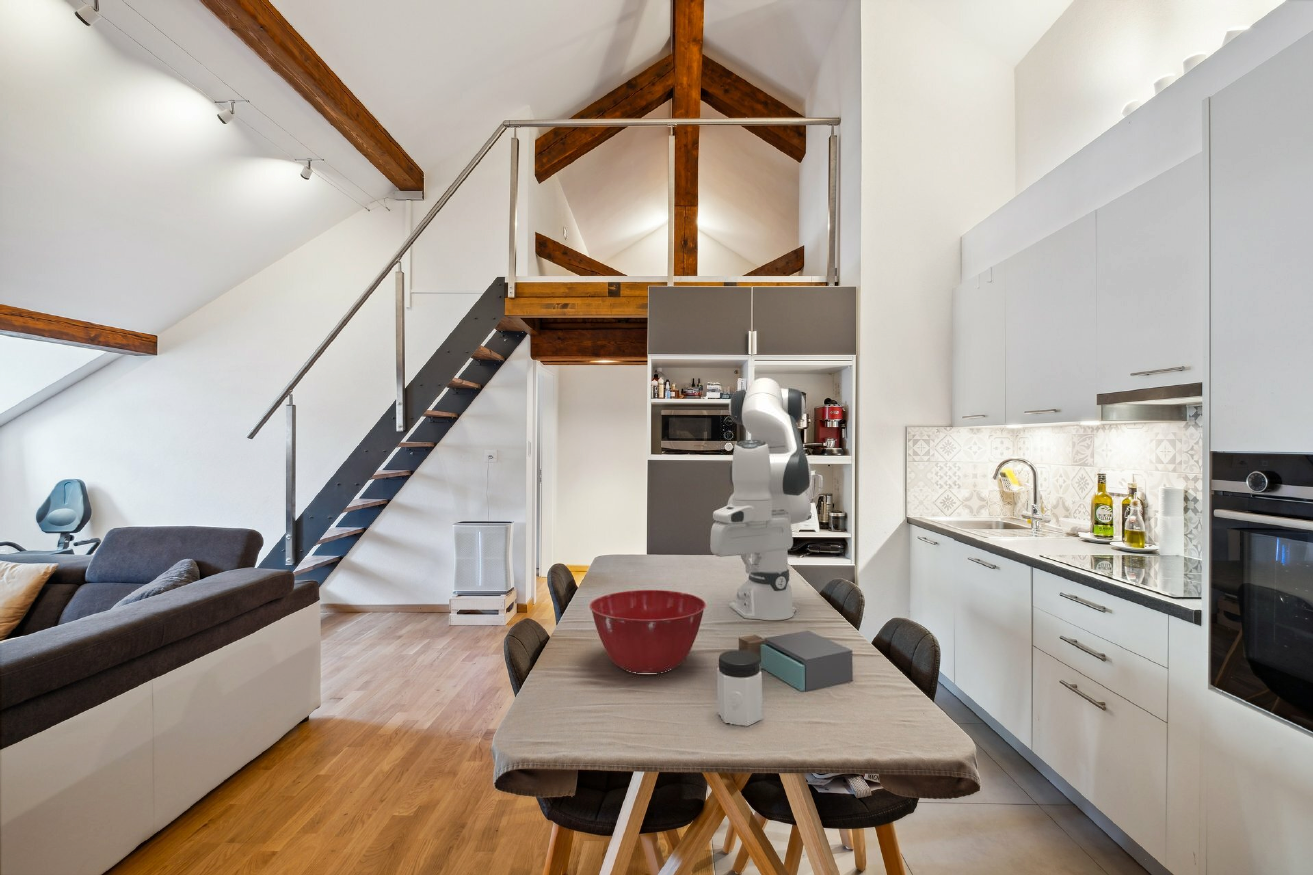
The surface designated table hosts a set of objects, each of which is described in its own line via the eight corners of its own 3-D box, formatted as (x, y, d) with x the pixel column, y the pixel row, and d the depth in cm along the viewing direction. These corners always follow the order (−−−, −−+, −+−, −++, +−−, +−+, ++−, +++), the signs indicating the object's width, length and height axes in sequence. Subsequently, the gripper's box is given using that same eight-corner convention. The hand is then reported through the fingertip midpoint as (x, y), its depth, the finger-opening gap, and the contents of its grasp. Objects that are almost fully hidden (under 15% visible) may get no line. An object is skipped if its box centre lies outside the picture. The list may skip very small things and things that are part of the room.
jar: (713, 723, 122) (712, 662, 122) (721, 705, 130) (721, 648, 130) (759, 728, 120) (758, 666, 120) (765, 710, 127) (764, 652, 127)
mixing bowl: (637, 638, 174) (636, 583, 174) (727, 658, 157) (726, 597, 157) (566, 671, 151) (565, 607, 151) (663, 698, 134) (662, 626, 134)
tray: (761, 667, 151) (760, 644, 151) (803, 658, 156) (803, 637, 156) (801, 691, 136) (801, 666, 136) (846, 680, 142) (846, 657, 142)
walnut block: (739, 657, 158) (738, 637, 158) (755, 653, 160) (755, 634, 160) (749, 663, 154) (749, 643, 154) (766, 660, 156) (766, 640, 156)
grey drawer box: (764, 666, 151) (764, 638, 151) (808, 658, 157) (807, 630, 157) (806, 691, 137) (805, 659, 137) (852, 680, 142) (852, 650, 142)
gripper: (781, 507, 149) (782, 565, 149) (706, 513, 140) (707, 574, 140) (798, 510, 143) (799, 570, 143) (720, 516, 135) (721, 580, 135)
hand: (753, 572), depth 142 cm, fingers closed
